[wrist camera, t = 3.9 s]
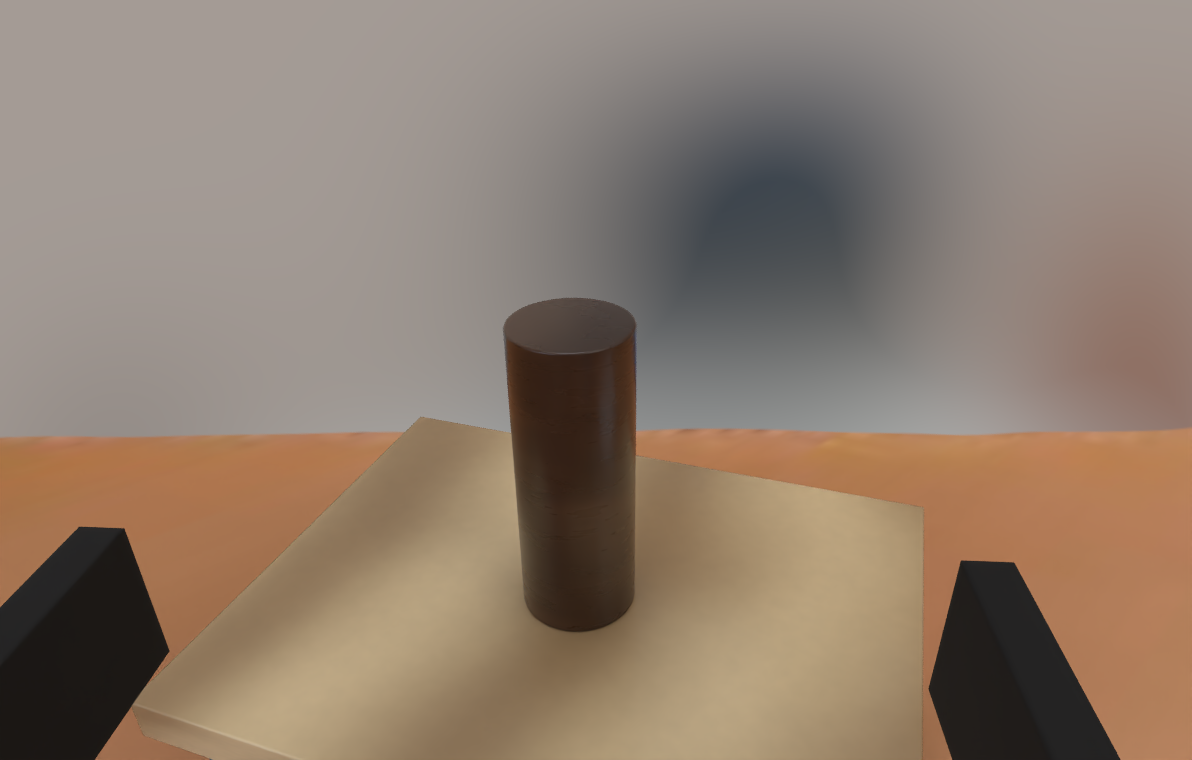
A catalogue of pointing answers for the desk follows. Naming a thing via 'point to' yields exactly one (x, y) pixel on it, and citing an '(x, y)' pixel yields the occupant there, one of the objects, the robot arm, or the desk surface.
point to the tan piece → (564, 598)
